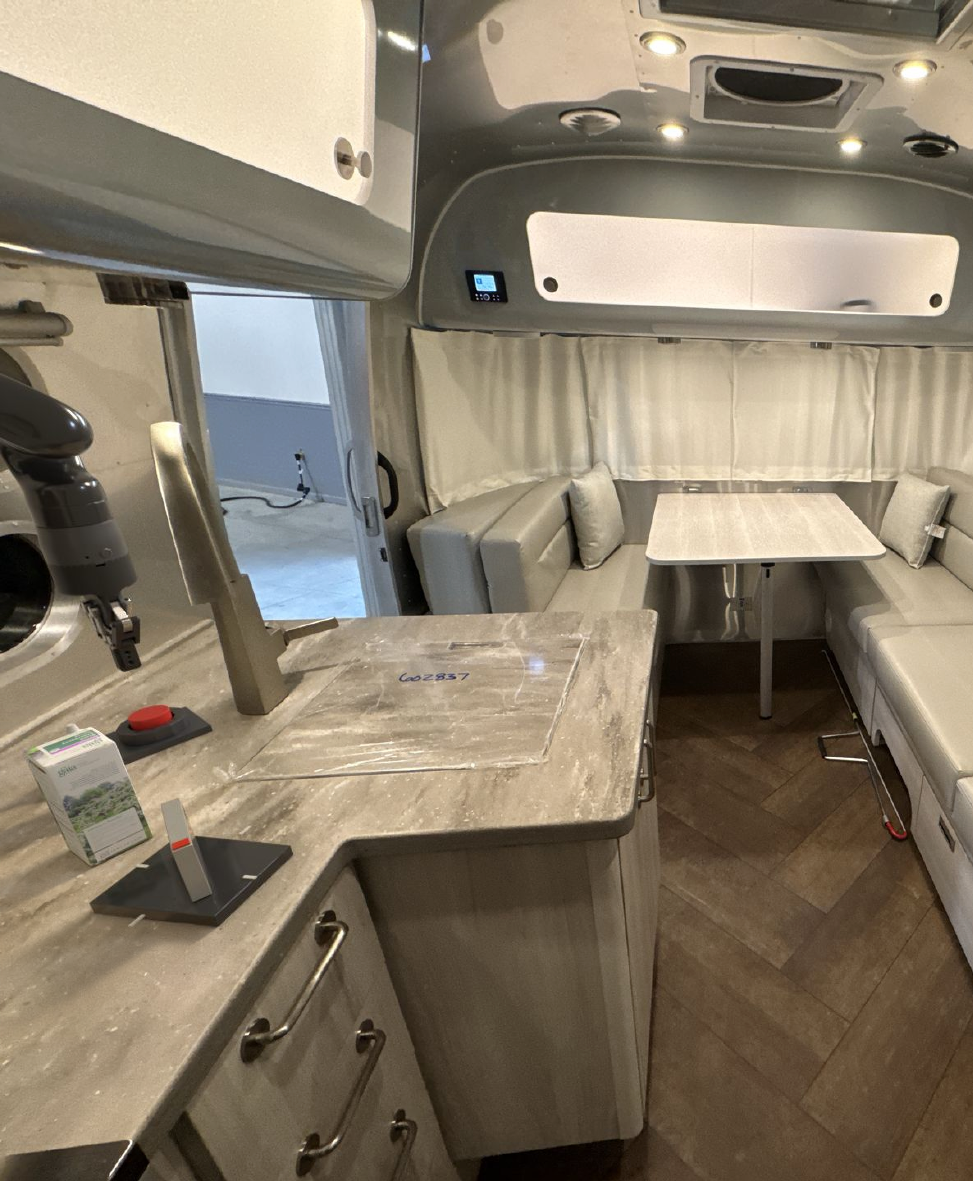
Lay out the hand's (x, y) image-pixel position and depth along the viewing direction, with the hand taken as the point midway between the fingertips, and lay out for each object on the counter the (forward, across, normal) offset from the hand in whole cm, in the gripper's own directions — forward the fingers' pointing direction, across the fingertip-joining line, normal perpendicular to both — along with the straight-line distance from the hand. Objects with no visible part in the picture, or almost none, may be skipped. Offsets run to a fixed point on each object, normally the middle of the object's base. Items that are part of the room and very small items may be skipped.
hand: (130, 668), depth 90 cm
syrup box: (+12, +22, -11) cm, 27 cm away
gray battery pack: (+10, +37, -8) cm, 39 cm away
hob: (+12, +37, -8) cm, 40 cm away
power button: (+9, 0, 0) cm, 9 cm away
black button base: (+12, 0, 0) cm, 12 cm away
